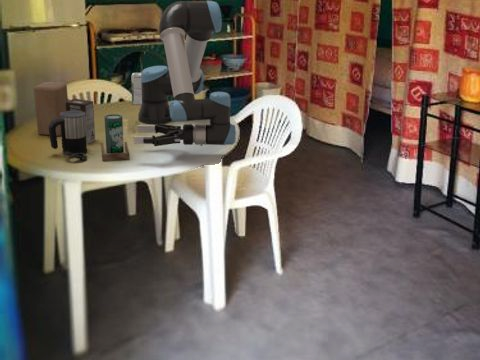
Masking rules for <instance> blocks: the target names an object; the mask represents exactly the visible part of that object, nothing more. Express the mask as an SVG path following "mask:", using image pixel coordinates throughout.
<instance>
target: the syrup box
mask: <svg viewBox="0 0 480 360" xmlns="http://www.w3.org/2000/svg"><path fill="white" fill-rule="evenodd" d="M130 77H131V80H130V81H131V82H130V83H131V105H132V106H133V105H140V106H141V104H142V92H141V72H132V74H131V76H130Z"/></svg>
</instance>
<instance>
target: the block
mask: <svg viewBox="0 0 480 360" xmlns="http://www.w3.org/2000/svg"><path fill="white" fill-rule="evenodd" d="M33 95H34V104H35V116H36V117H35V118H36V126H37V133H38V135H44V136H50V135H49V124H50V122H51V121H52V120H54V119H58V118H61V115H60V113H62V112H65V111H66V102H67V101H69V99H68V97H69V96H68V87H67V83H65V82H55V81H45V82H42V83H39V84H37V85H35V86H34V87H33ZM56 136H57V137H60V136H61V125H58V126H57V127H56Z"/></svg>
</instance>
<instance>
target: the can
mask: <svg viewBox="0 0 480 360" xmlns="http://www.w3.org/2000/svg"><path fill="white" fill-rule="evenodd" d="M123 122H124V121H123V115H121V114H116V113H113V114H107V115H105V116H104V129H105V131H104V133H105V151H106V153H125V143H124V126H123V124H124V123H123ZM106 153H105V154H106Z"/></svg>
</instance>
